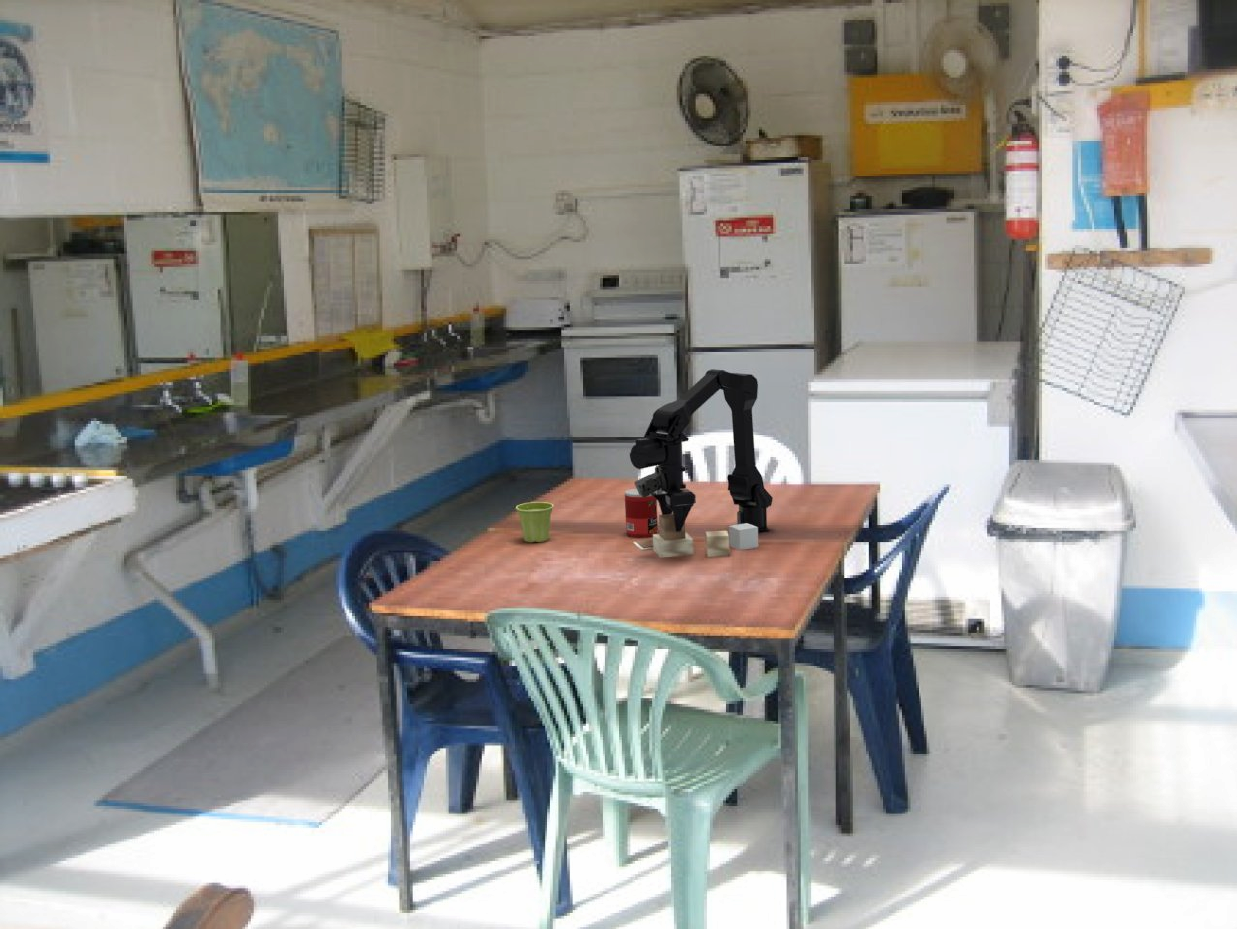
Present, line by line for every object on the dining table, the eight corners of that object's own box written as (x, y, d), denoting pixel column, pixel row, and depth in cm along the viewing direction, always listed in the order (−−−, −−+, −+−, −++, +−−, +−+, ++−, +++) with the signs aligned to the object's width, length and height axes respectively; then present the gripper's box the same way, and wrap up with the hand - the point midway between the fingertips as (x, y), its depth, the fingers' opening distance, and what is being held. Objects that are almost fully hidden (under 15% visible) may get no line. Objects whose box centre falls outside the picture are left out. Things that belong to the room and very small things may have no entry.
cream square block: (685, 548, 319) (685, 531, 318) (693, 556, 311) (693, 539, 311) (653, 550, 318) (652, 534, 317) (660, 558, 310) (659, 542, 309)
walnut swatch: (661, 540, 326) (661, 538, 326) (670, 547, 319) (670, 544, 319) (633, 543, 324) (633, 541, 324) (641, 550, 317) (641, 547, 317)
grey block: (747, 543, 320) (747, 523, 319) (758, 547, 316) (757, 527, 315) (729, 546, 318) (729, 525, 317) (740, 550, 314) (739, 530, 313)
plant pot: (563, 538, 332) (561, 504, 330) (535, 546, 325) (533, 512, 323) (537, 533, 338) (535, 500, 336) (509, 541, 331) (508, 507, 330)
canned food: (655, 538, 329) (653, 494, 327) (623, 537, 330) (621, 494, 328) (660, 530, 336) (658, 488, 334) (629, 530, 338) (627, 488, 336)
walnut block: (679, 533, 317) (679, 513, 316) (685, 538, 312) (684, 517, 311) (659, 535, 316) (658, 515, 315) (664, 540, 311) (664, 519, 310)
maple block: (727, 551, 314) (726, 530, 313) (729, 556, 309) (728, 535, 308) (706, 552, 314) (705, 531, 313) (707, 557, 309) (707, 536, 308)
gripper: (626, 458, 318) (629, 522, 320) (648, 472, 300) (651, 539, 303) (671, 454, 320) (673, 517, 323) (695, 468, 303) (697, 534, 305)
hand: (672, 527), depth 314 cm, fingers open, 9 cm apart
